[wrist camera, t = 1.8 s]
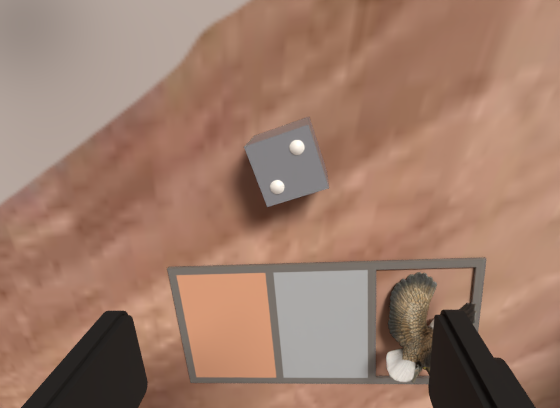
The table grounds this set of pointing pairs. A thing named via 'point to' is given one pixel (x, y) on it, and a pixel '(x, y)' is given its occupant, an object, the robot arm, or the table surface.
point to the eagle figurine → (413, 326)
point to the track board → (289, 320)
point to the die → (287, 162)
